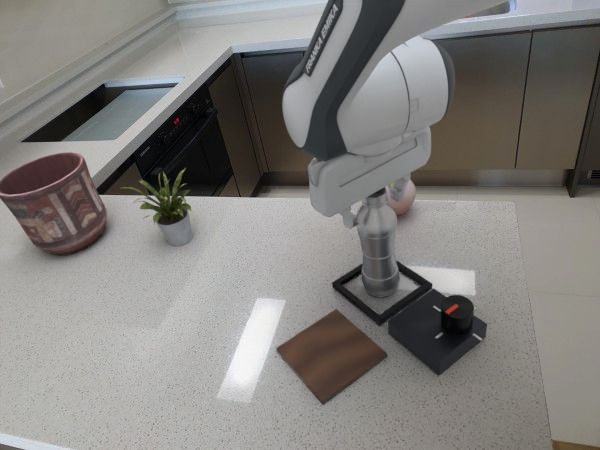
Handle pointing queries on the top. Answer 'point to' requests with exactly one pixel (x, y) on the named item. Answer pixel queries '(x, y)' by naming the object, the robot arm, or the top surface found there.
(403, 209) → the decorative fruit
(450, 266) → the top surface
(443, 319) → the knob
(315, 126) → the robot arm
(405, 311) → the panel
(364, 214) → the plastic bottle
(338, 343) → the trivet
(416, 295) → the black flat square frame
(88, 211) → the pottery
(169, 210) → the house plant
